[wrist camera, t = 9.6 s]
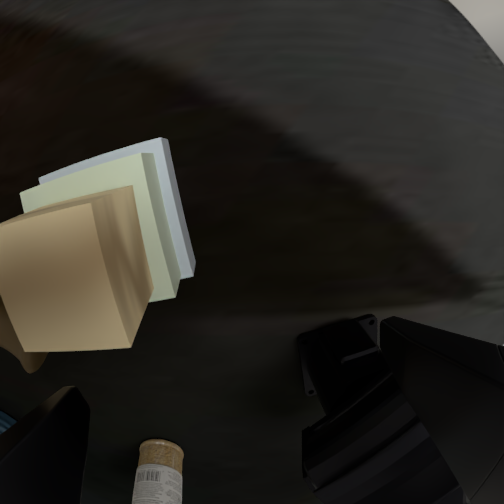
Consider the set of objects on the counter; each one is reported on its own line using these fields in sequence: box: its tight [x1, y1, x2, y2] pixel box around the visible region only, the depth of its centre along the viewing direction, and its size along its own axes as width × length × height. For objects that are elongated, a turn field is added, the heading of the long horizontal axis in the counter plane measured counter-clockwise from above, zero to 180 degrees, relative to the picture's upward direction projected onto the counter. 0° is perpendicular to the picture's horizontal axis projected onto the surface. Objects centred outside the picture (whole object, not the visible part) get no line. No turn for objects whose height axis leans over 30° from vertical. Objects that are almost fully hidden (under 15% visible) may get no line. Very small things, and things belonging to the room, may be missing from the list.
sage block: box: [20, 153, 181, 302], centre depth 15 cm, size 7×7×3 cm
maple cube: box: [0, 185, 154, 352], centre depth 11 cm, size 5×5×5 cm
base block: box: [39, 137, 196, 279], centre depth 18 cm, size 8×8×3 cm
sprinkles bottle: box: [132, 439, 184, 504], centre depth 19 cm, size 5×5×14 cm
